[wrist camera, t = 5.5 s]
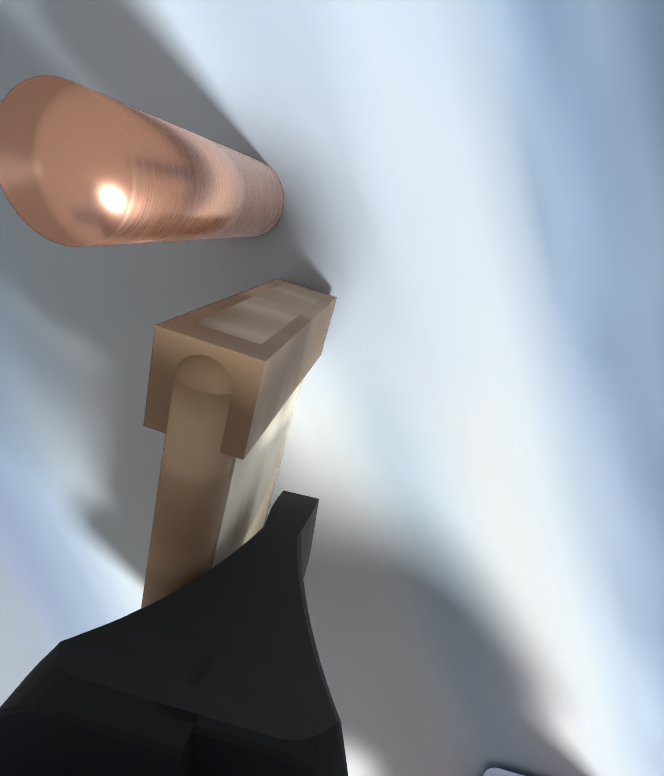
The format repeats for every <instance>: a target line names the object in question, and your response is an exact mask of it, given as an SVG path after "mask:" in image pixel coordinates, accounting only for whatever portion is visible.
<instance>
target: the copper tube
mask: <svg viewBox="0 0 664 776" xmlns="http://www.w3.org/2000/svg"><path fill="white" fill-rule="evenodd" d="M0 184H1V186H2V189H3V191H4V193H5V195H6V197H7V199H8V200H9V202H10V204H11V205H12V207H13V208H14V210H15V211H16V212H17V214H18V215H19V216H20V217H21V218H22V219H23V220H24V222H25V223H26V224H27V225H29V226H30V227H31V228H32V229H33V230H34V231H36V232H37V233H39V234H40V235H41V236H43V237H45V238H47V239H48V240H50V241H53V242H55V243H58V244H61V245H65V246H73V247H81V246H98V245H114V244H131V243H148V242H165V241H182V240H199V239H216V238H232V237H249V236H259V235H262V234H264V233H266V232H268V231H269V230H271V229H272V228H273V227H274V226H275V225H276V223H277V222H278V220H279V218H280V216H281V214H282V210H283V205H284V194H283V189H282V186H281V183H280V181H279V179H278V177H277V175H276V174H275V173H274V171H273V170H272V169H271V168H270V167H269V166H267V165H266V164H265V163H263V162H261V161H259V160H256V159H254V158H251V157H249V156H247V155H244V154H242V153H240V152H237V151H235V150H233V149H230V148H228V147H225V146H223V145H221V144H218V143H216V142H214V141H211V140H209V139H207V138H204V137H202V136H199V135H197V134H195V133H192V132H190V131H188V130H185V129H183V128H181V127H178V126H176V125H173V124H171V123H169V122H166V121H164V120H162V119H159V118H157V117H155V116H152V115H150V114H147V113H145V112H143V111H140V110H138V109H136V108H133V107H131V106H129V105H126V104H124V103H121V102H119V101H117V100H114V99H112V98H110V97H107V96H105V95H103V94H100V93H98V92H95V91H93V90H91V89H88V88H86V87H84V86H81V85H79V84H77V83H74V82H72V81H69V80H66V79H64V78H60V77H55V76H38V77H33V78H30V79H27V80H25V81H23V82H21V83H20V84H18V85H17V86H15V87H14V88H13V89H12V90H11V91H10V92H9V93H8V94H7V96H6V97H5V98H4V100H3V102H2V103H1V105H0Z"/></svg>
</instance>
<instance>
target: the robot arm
mask: <svg viewBox="0 0 664 776" xmlns="http://www.w3.org/2000/svg"><path fill="white" fill-rule="evenodd" d="M318 501H319V499H317V498H313V497H308V496H304V495H300V494H296V493H291V492H287V491H283V492H282V493H281V495H280V496H279V497H278V499H277V500H276V501H275V503H274V504H273V507H272V509H271V511H270V514H269V516H268V518H267V521H266V523H265V526H264V527H263V528H262V529H261V530H260V531H259V532H257V533H256V534H255V535H254V536H253V537H252V538H251V539H249V540H248V541H247V542H246V543H244V544H243V545H242V546H241V547H239V548H238V549H237V550H236V551H234V552H233V553H232V554H231V555H229V556H228V557H227V558H225V559H224V560H223V561H221V562H220V563H219V564H217V565H216V566H214V567H213V568H211V569H210V570H208V571H207V572H205V573H204V574H202V575H201V576H199V577H198V578H196V579H195V580H193V581H191V582H189V583H188V584H186V585H184V586H183V587H181V588H179V589H178V590H176V591H174V592H173V593H171V594H169V595H167V596H165V597H163V598H162V599H160V600H158V601H156V602H154V603H152V604H150V605H148V606H145V607H143V608H141V609H139V610H137V611H135V612H133V613H131V614H129V615H127V616H125V617H123V618H120V619H118V620H116V621H113V622H111V623H108V624H106V625H103V626H101V627H98V628H95V629H93V630H90V631H88V632H85V633H82V634H80V635H77V636H75V637H72V638H69V639H66V640H64V641H61V642H60V643H59V644H58V645H57V646H56V647H55V648H54V649H53V650H52V651H51V652H50V653H49V654H48V655H47V656H46V657H45V658H43V659H42V660H41V661H40V662H39V664H38V665H37V666H36V667H35V668H34V669H33V670H32V671H31V672H30V673H29V674H28V675H27V677H26V678H25V679H24V680H23V681H22V682H21V684H20V685H19V686H18V687H17V688H16V689H15V691H14V692H13V693H12V694H11V695H10V696H9V698H8V699H7V700H6V701H5V702H4V703H3V705H2V706H1V707H0V776H348V771H347V763H346V755H345V748H344V741H343V735H342V727H341V721H340V718H339V716H338V713H337V710H336V708H335V705H334V702H333V700H332V697H331V694H330V691H329V688H328V685H327V682H326V679H325V676H324V673H323V669H322V666H321V663H320V660H319V656H318V652H317V648H316V644H315V640H314V636H313V632H312V628H311V624H310V619H309V614H308V609H307V603H306V597H305V590H304V582H303V578H304V574H305V571H306V567H307V564H308V560H309V556H310V550H311V544H312V538H313V532H314V526H315V520H316V513H317V507H318ZM483 776H524V775H521V774H517V773H514V772H510V771H507V770H503V769H500V768H489V769H487V770H486V771H485V773H484V775H483Z"/></svg>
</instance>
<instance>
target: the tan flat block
mask: <svg viewBox="0 0 664 776" xmlns="http://www.w3.org/2000/svg"><path fill="white" fill-rule="evenodd" d="M336 298H337V297H334V296H331V295H328V294H325V293H322V292H318V291H315V290H312V289H309V288H306V287H303V286H299V285H296V284H293V283H290V282H287V281H283V280H280V279H276V280H273V281H271V282H268V283H265V284H263V285H260V286H257V287H255V288H252V289H249V290H247V291H244V292H242V293H239V294H236V295H234V296H231V297H228V298H226V299H223V300H220V301H218V302H215V303H213V304H210V305H207V306H205V307H202V308H199V309H197V310H194V311H191V312H189V313H186V314H184V315H181V316H178V317H176V318H173V319H170V320H168V321H165V322H162V323H160V324H157V325H155V332H154V340H153V349H152V358H151V366H150V375H149V383H148V392H147V401H146V409H145V418H144V426H146V427H149V428H152V429H155V430H158V431H161V432H164V433H166V435H165V442H164V449H163V456H162V463H161V470H160V478H159V485H158V492H157V499H156V506H155V513H154V520H153V528H152V535H151V542H150V549H149V556H148V563H147V570H146V578H145V585H144V592H143V599H142V606H141V608H143V607H145V606H148V605H150V604H152V603H154V602H156V601H158V600H160V599H162V598H163V597H165V596H167V595H169V594H171V593H173V592H174V591H176V590H178V589H179V588H181V587H183V586H184V585H186V584H188V583H189V582H191V581H193V580H195V579H196V578H198V577H199V576H201V575H202V574H204V573H205V572H207V571H208V570H210V569H211V568H213V567H214V566H216V565H217V564H219V563H220V562H221V561H223V560H224V559H225V558H227V557H228V556H229V555H231V554H232V553H233V552H234V551H236V550H237V549H238V548H239V547H241V546H242V545H243V544H244V543H246V542H247V541H248V540H249V539H251V538H252V537H253V536H254V535H255V534H256V533H257V532H259V531H260V530H261V529H262V528H263V526H264V522H265V518H266V514H267V511H268V507H269V503H270V500H271V496H272V492H273V488H274V485H275V481H276V477H277V473H278V470H279V466H280V462H281V459H282V455H283V451H284V447H285V444H286V440H287V436H288V432H289V429H290V425H291V421H292V418H293V414H294V410H295V406H296V403H297V399H298V395H299V391H300V388H301V384H302V380H303V378H304V377H305V375H306V374H307V373H308V371H309V370H310V369H311V367H312V366H313V365H314V363H315V362H316V361H317V359H318V358H319V356H320V355H321V352H322V349H323V345H324V341H325V338H326V334H327V331H328V327H329V324H330V320H331V316H332V313H333V309H334V306H335V302H336Z"/></svg>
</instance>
